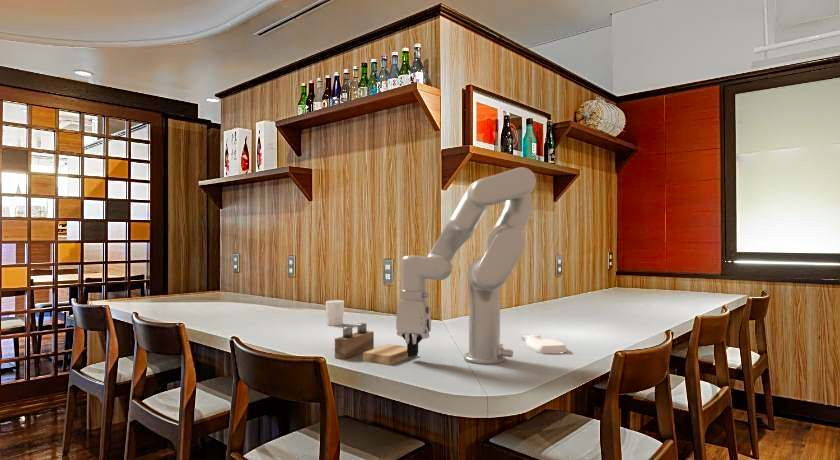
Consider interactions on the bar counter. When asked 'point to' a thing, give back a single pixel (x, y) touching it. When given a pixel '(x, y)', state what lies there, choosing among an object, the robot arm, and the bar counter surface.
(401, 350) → the oak plate
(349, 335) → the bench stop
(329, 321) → the white cup
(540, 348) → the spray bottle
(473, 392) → the bar counter surface
